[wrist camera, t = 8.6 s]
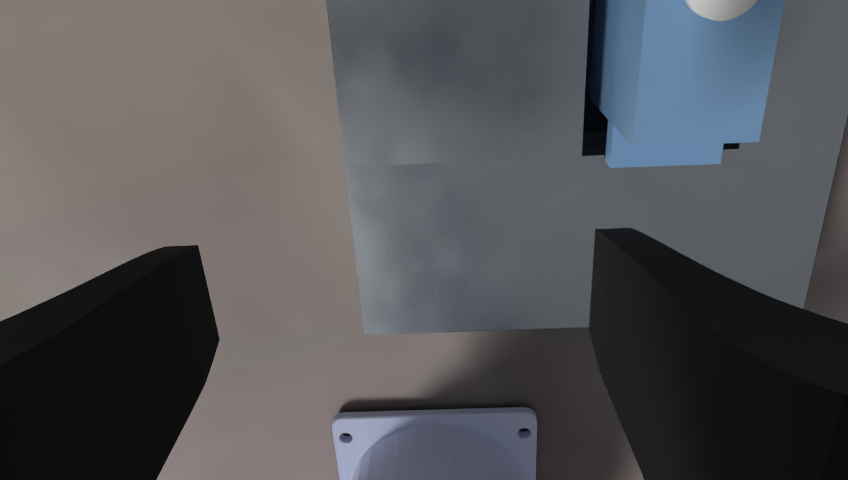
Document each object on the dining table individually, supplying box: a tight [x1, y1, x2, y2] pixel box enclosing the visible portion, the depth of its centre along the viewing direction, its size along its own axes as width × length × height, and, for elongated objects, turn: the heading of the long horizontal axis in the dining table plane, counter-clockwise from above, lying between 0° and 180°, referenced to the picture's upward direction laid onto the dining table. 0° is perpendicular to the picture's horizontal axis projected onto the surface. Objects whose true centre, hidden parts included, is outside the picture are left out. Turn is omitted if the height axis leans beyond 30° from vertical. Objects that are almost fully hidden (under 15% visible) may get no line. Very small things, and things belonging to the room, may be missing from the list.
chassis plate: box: [326, 0, 848, 335], centre depth 19 cm, size 16×14×2 cm
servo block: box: [589, 0, 785, 168], centre depth 16 cm, size 7×3×6 cm, turn 3°
